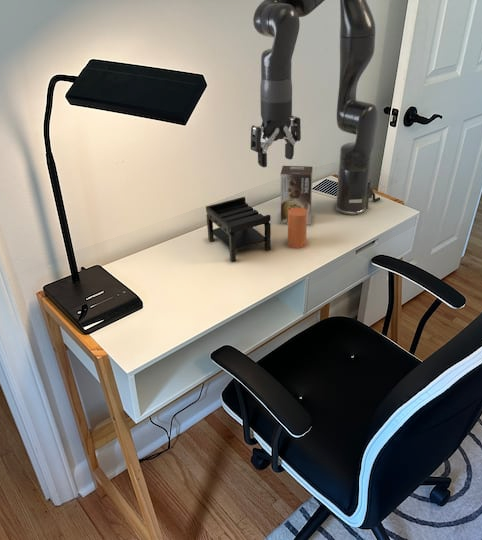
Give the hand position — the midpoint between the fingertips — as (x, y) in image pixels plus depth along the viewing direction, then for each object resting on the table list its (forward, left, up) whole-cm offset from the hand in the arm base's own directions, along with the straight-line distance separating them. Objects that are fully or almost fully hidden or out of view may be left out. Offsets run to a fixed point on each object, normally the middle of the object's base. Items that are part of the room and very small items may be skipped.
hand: (276, 162), depth 130 cm
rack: (+9, -5, -24) cm, 26 cm away
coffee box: (-13, -9, -24) cm, 29 cm away
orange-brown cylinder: (-5, +3, -24) cm, 25 cm away
